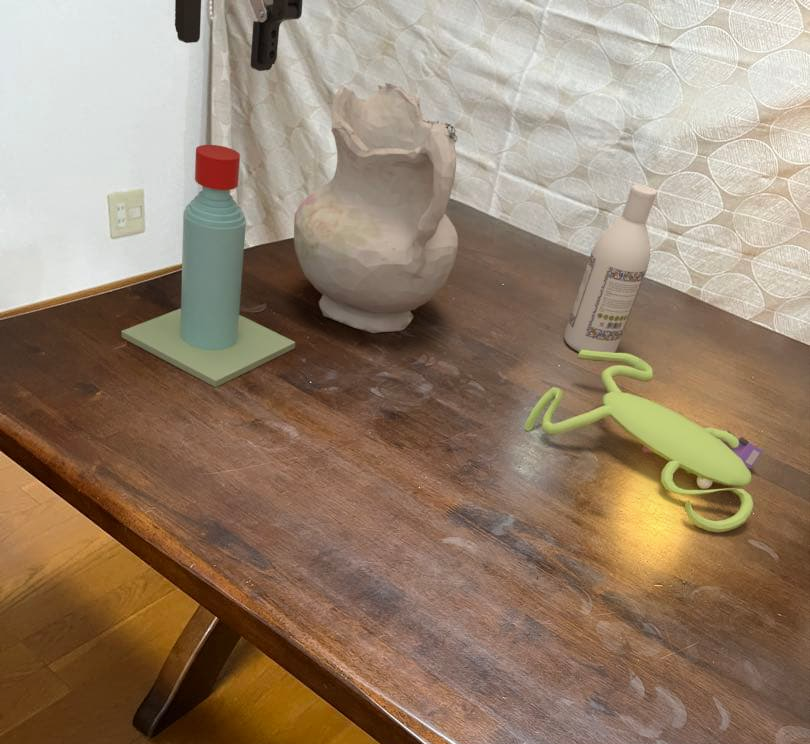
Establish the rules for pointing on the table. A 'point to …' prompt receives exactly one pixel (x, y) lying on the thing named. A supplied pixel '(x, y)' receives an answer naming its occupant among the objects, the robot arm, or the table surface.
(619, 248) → the bath foam
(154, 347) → the mat
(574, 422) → the figurine
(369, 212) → the ceramic pitcher
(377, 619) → the table surface
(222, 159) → the cap
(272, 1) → the robot arm
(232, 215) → the bottle
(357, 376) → the table surface
